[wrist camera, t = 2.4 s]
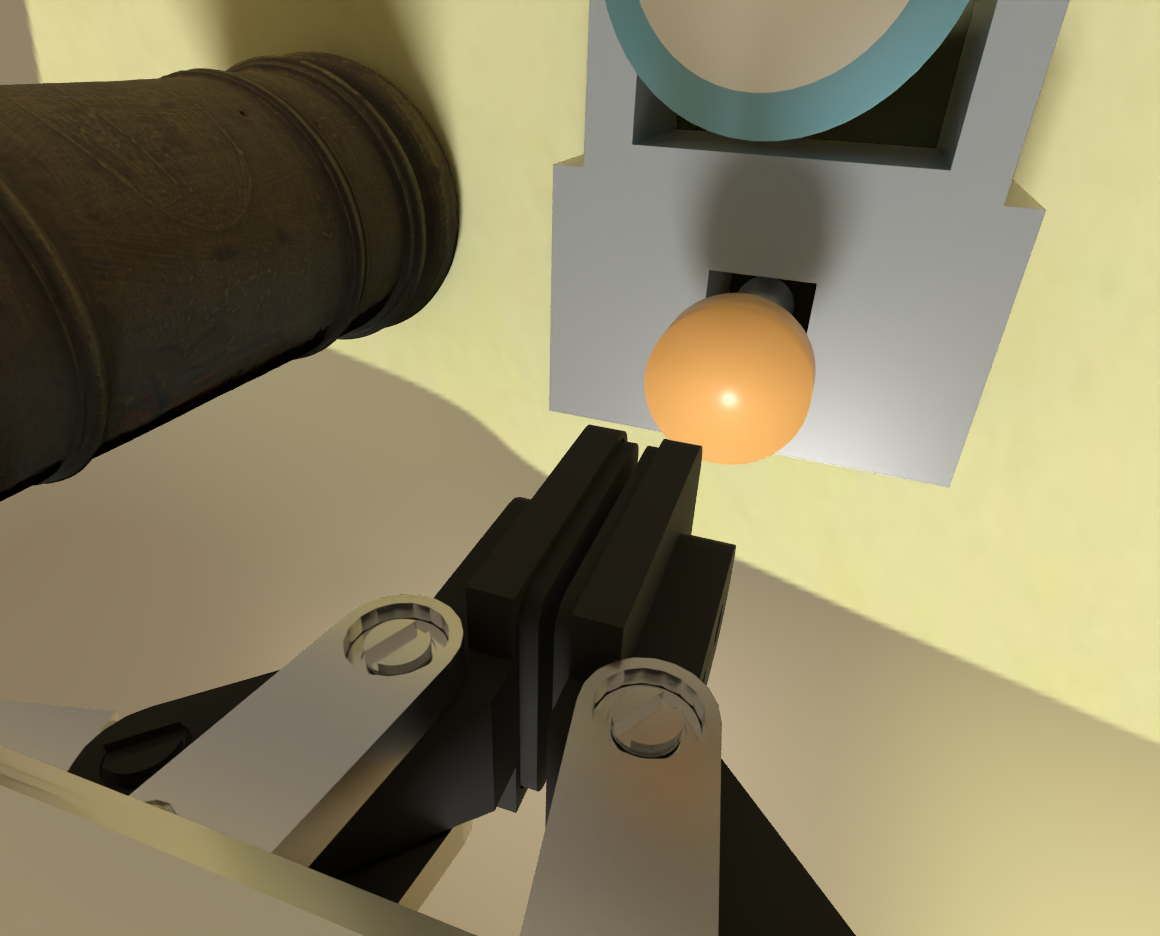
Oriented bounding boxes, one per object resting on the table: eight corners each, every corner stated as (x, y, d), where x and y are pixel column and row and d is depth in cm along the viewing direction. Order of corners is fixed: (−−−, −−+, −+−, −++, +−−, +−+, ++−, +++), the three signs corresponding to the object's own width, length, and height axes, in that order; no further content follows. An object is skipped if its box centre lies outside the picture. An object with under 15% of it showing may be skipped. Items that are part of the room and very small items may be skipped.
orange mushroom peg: (841, 250, 18) (828, 323, 13) (814, 373, 20) (793, 478, 15) (710, 235, 19) (651, 297, 14) (695, 353, 21) (638, 447, 16)
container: (218, 49, 25) (-770, 39, 10) (453, 54, 22) (-408, 50, 7) (271, 307, 29) (-354, 565, 14) (471, 336, 26) (-39, 686, 12)
